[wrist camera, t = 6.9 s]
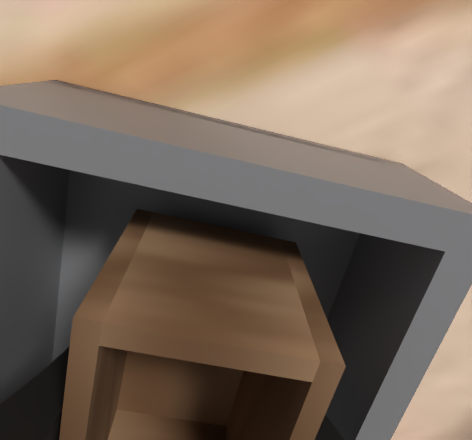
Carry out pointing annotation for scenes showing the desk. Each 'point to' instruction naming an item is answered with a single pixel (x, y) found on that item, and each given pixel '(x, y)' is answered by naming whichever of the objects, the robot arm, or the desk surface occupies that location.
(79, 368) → the small crate
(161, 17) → the desk surface
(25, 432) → the robot arm
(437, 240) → the big crate
